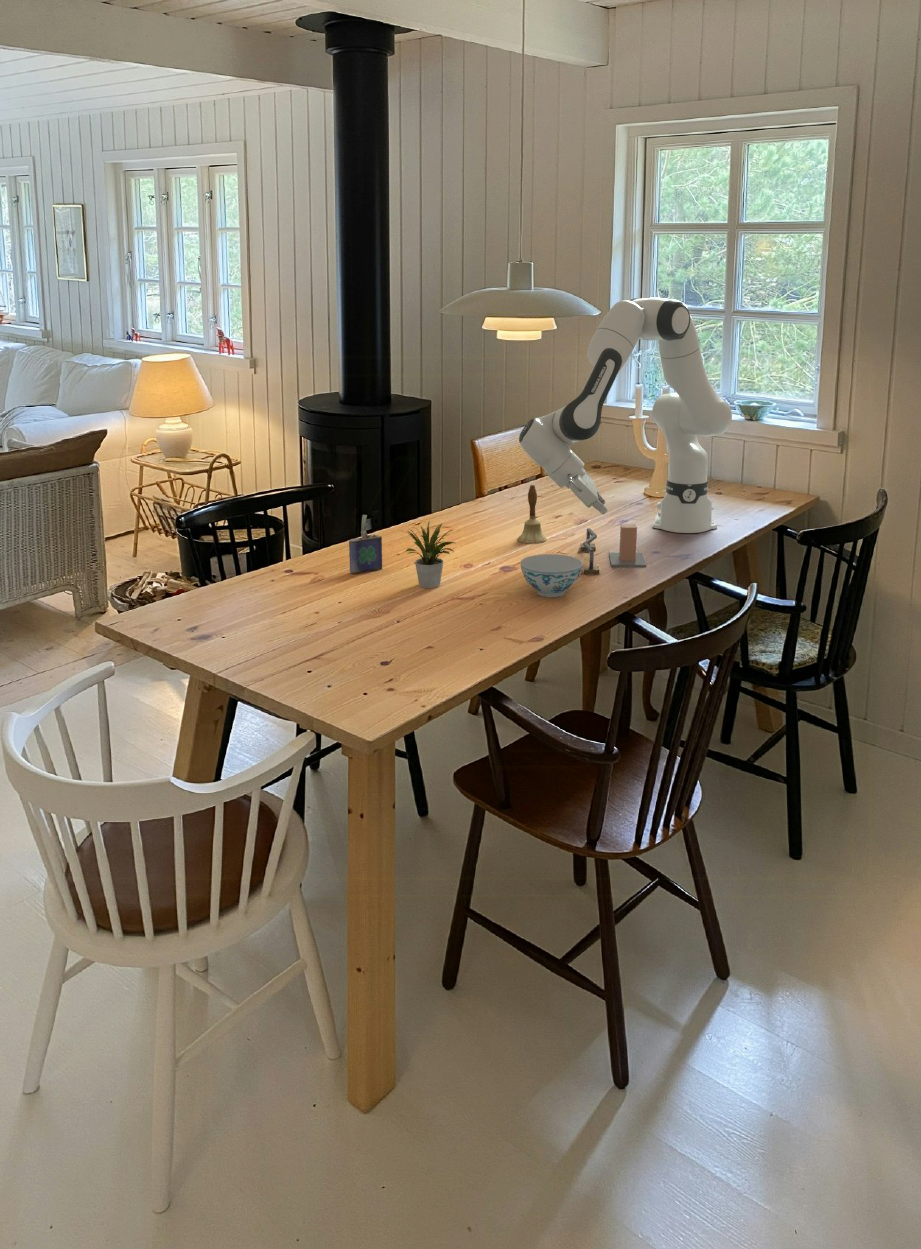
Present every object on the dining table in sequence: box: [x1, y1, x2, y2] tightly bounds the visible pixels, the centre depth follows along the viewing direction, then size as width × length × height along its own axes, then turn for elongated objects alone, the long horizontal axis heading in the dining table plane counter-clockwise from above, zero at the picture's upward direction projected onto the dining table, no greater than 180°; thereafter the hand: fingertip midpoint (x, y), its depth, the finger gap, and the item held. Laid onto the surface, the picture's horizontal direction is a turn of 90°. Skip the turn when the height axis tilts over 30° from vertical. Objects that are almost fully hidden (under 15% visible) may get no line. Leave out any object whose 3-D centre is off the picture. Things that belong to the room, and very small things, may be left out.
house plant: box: [401, 520, 456, 589], centre depth 270 cm, size 14×14×16 cm
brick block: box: [618, 523, 638, 561], centre depth 291 cm, size 4×4×9 cm
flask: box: [348, 530, 383, 575], centre depth 285 cm, size 9×3×11 cm, turn 121°
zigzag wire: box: [579, 527, 600, 575], centre depth 293 cm, size 26×4×6 cm, turn 176°
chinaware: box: [519, 553, 583, 598], centre depth 266 cm, size 15×15×8 cm
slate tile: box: [608, 551, 647, 568], centre depth 293 cm, size 12×9×1 cm
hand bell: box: [517, 484, 547, 545], centre depth 312 cm, size 8×8×16 cm
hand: (604, 508), depth 288 cm, fingers open, 8 cm apart
